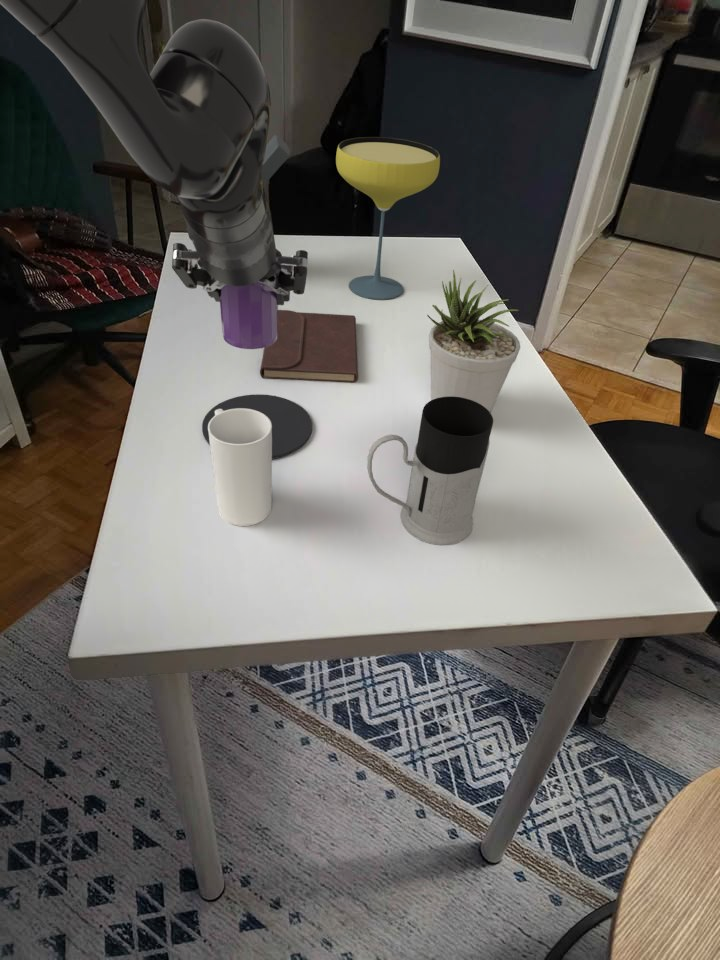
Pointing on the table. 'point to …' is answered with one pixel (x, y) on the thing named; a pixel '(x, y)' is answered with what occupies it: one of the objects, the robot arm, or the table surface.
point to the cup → (248, 316)
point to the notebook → (312, 348)
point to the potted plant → (470, 350)
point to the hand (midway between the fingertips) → (250, 295)
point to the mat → (272, 420)
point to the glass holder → (443, 469)
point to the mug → (242, 464)
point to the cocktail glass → (385, 189)
